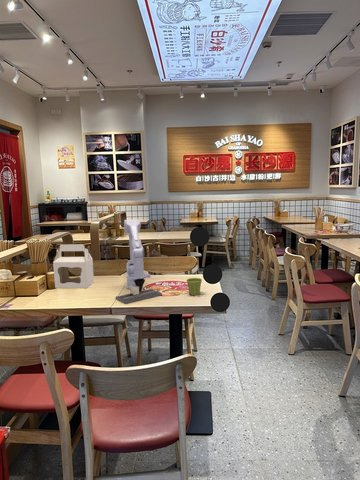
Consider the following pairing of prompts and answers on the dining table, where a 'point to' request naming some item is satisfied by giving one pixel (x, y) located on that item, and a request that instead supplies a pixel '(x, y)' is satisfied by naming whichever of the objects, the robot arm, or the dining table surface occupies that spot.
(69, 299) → the dining table surface
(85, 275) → the gable box
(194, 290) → the plant pot
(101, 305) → the dining table surface
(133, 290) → the fader tab
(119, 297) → the fader console
